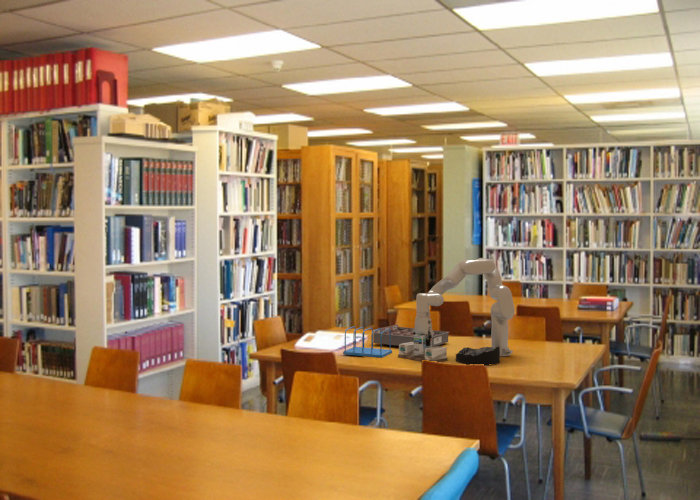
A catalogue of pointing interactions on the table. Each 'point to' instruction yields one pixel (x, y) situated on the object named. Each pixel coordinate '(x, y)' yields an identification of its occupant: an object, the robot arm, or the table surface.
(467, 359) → the topographical model
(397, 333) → the organizer tray
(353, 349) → the file sorter
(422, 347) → the light bulb box
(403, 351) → the rail board
